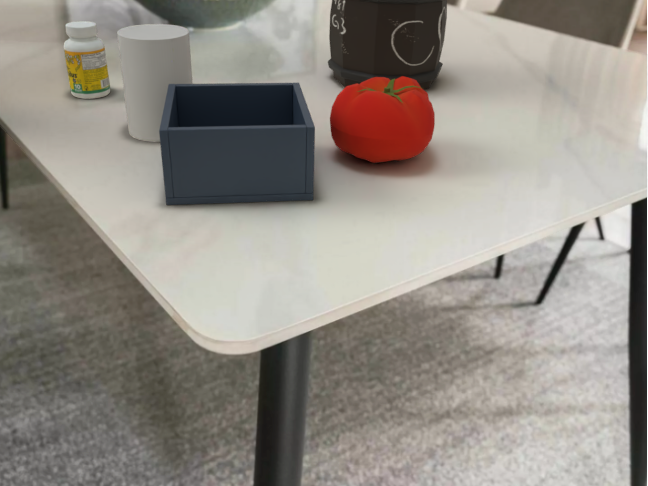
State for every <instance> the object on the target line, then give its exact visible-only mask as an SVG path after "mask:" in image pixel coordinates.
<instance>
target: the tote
mask: <svg viewBox="0 0 648 486" xmlns="http://www.w3.org/2000/svg"><path fill="white" fill-rule="evenodd" d="M159 135H160V142H159V143H160V145H159V146H160V155H161V166H162V175H163V185H164V187H163V188H164V197H165V204H166V206H178V205H179V206H180V205H211V204H235V203H236V204H238V203H268V202H294V201H295V202H296V201H297V202H298V201H313V200H314V188H315V187H314V185H315V183H314V182H315V150H316V149H315V147H316V146H315V143H316V142H315V141H316V126H315V124H314V121H313V118H312V115H311V112H310V110H309V106H308V104H307V101H306V98H305V96H304V93H303V90H302V87H301V84H300V82H233V83H232V82H231V83H230V82H228V83H224V82H223V83H220V82H219V83H218V82H217V83H192V84H169V85H168V90H167V95H166V100H165V104H164V109H163V114H162V119H161V124H160V129H159Z"/></svg>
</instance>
